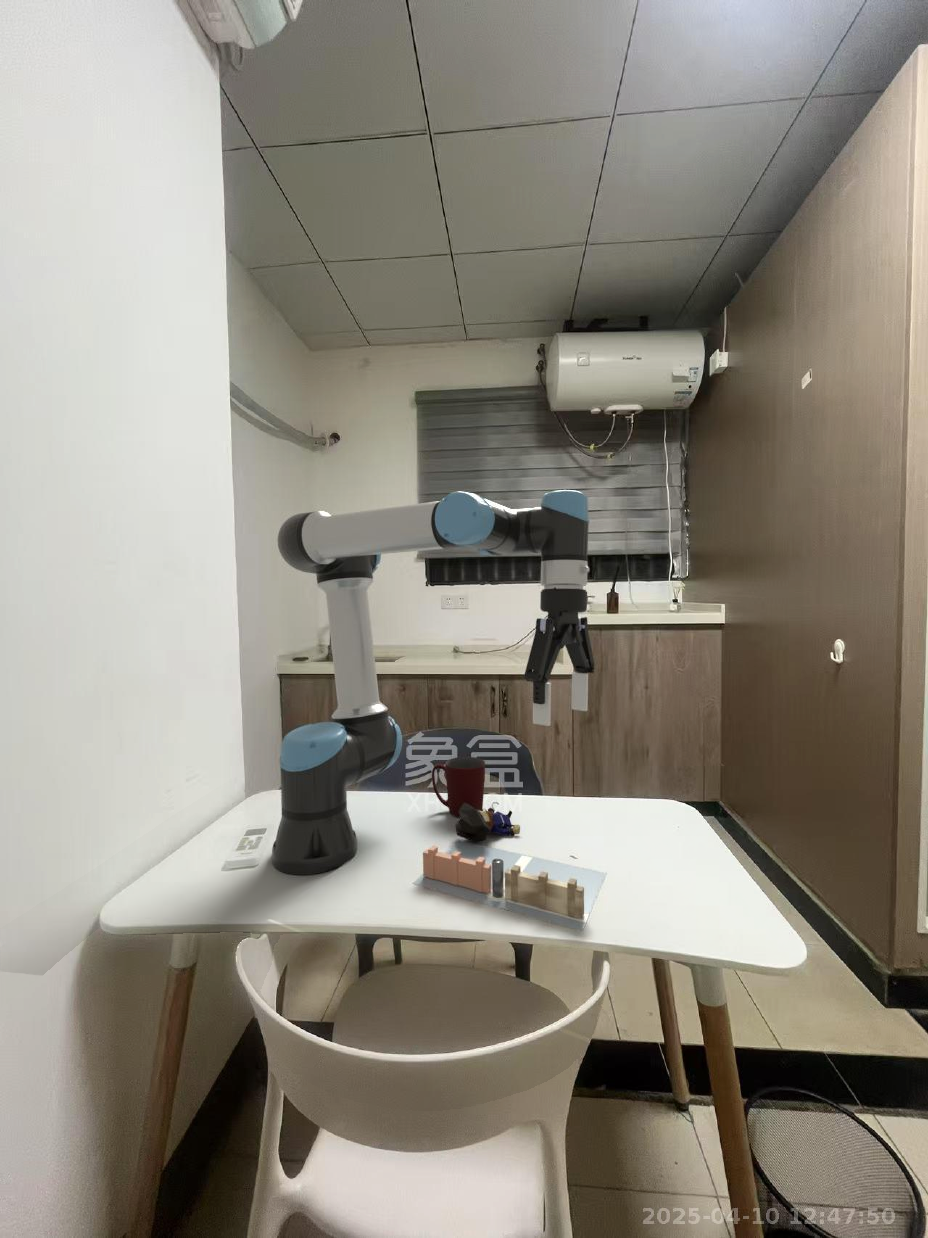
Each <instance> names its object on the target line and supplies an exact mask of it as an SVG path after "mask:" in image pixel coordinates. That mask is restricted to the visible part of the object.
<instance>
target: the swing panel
mask: <svg viewBox="0 0 928 1238" xmlns="http://www.w3.org/2000/svg"><path fill="white" fill-rule="evenodd" d="M438 848H439V846H436V845H431V846H430V847H429V848H428V849H425V850H424V851H423V852H422V868H423V869H422V872H423V873H422V874H423V876H425V877H428V878H431V879H437V880H440V881H444V882H448V883H451V884H453V885H459V886H463V887H466V888H470V889H474V890H476V891H479V892H485V893H489V892H490V891H491V865H490V864H486V863H485V858H483V857H479V858H478V859H477V860H476V861H473V860H469V859H465V858H461V852H458V851H455V852H454V853H453V854H452V855H448V854H445V852H444V853H443V852H439V849H438Z"/></svg>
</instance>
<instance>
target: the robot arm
mask: <svg viewBox="0 0 928 1238" xmlns="http://www.w3.org/2000/svg"><path fill="white" fill-rule="evenodd" d="M589 523H590V519H589V501H588V497H587V495H586V494H585V493H583V492H581V491H578V490H570V489H568V490H567V489H563V490H561V489H560V490H553V491H551V492H546V493H544V494H543V496H542V497H541V503H540V506H536V507H533V508H532V507H531V508H519V509H517V508H515V509H511V508H509V507H506V506H503V505H501V504H499V503H496V502H493V501H491V500H489V499H486V498H484V497H482V496H481V495H479V494H476V493H473V492H466V491H454V492H451V493H449V494H448V495H445V497H444V498H442V499H441V500H439V501H430V502H423V503H414V504H407V505H400V506H392V507H385V508H384V507H383V508H378V509H376V508H375V509H371V510H362V511H353V512H346V513H339V514H329V513H328V512H325V511H323V510H320V511H319V510H318V511H316V510H315V511H311V512H302V513H297V514H294V515H292V516H290V517H289V518H287V519H286V520H285V521H284V522H283V523H282V525H280V528H279V530H278V534H277V548H278V551H279V553H280V555H281V557H282V559H283V560H284V561H285V562H286V563H287V565H289V566H290V567H291V568H293V569H295V570H296V571H300V572H302V573H307V574H308V573H309V574H315V575H316V582H317V583H316V585H317V587H318V588H319V589H320V590H321V591H323V592H324V593H325V598H326V607H327V615H328V625H329V627H328V628H329V635H330V644H331V654H332V663H333V670H334V672H333V673H334V681H335V682H334V683H335V689H336V699H337V701H336V702H337V709H335V711H333V713H332V715H331V721H322V722H321V721H320V722H317V723H314V724H313V723H309V724H306V725H303V726H299V727H297V728H295V729H293V730H291V731H290V732H288V733H286V734H285V736H284V738H282V741H281V743H280V757H279V767H280V790H281V791H280V793H281V794H280V796H281V797H280V799H281V804H280V805H281V818H280V822H279V825H278V828H277V833H276V836H275V837H276V838H275V841H274V842H273V845H272V848H271V862H272V865H273V867H274V868H275V869H276V870H278V871H280V872H283V873H285V874H290V875H300V876H301V875H302V876H303V875H313V874H314V875H315V874H319V873H324V872H329V871H331V870H335V869H336V868H337V869H338V868H339V867H341V866H344V865H345V864H347V863H348V862H350V861H351V860H352V859H353V858H354V856H355V855H356V854H357V853H358V852H357V851H358V839H357V833H356V831H355V830H354V829H353V825H352V821H351V818H350V815H349V811H348V806H347V804H348V800H347V799H348V798H347V797H348V794H347V792H348V791H347V788H348V787H349V786H352V785H355V784H357V783H358V782H362V781H363V780H365V779H368V778H370V777H372V776H377V775H380V774H381V773H383V772H384V771H385V770H387V769H388V768H390V767H391V766H393V764H395V763H396V761H397V760H398V758H399V757H400V753H401V751H402V746H403V736H402V731H401V728H400V726H399V725H398V724H396V721H395V719H394V718H392V717H391V716H390V715H389V708H388V707H387V706H386V705H385V704H384V703H382V702H381V701H380V695H379V693H380V692H379V685H378V684H379V683H378V675H377V667H376V658H375V650H374V642H373V641H374V640H373V633H372V632H373V631H372V623H371V622H372V621H371V612H370V603H369V596H368V589H369V587H370V586H371V585H372V584H373V583H374V576H373V575H374V573H375V572H376V571H377V569H378V565H380V563H381V558H382V555H386V554H396V553H399V554H400V553H409V552H419V551H420V552H422V551H434V550H442V549H444V550H445V549H446V550H449V549H450V550H451V549H464V548H475V549H476V550H477V551H478V552H479V554H481V555H485V556H486V555H487V556H489V555H490V556H498V557H499V556H502V555H515V554H518V555H519V554H529V553H531V554H532V553H533V554H539V553H540V554H541V555H540V562H541V563H540V585H541V586H542V587H543V589H541V591H540V606H539V607H540V610H541V612H544V613H545V612H546V613H547V617H537V618H536V620H535V633H534V635H533V640H532V644H531V649H530V652H529V655H528V660H527V663H526V667H525V671H524V679H525V680H526V682H532V724H535V725H541V726H545V727H549V726H551V724H552V723H551V721H552V720H551V719H552V718H551V717H552V715H551V714H552V708H551V707H552V682H548V681H549V679H550V676H551V674H552V673H553V669H554V666H555V663H556V661H557V658H558V656H559V654H560V651H561V650H562V649H564V647H565V648H566V651H567V653H568V657H569V659H570V661H571V664H572V667H573V669H574V672H571V710H575V711H581V712H587V711H588V709H589V705H588V703H589V696H588V695H589V674H594V672H595V660H594V655H593V650H592V649H593V648H592V644H591V639H590V635H589V634H590V633H589V629H588V627H589V626H588V617H587V616H579V613H585V612H586V611H587V610H588V591H587V589H584V587H586V586H587V585H588V573H589V572H590V571H591V570H590V569H591V568H590V566H588V559H589V558H588V553H589V552H588V551H589V547H588V546H589V528H590V527H589Z"/></svg>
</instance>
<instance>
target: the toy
mask: <svg viewBox="0 0 928 1238" xmlns="http://www.w3.org/2000/svg"><path fill="white" fill-rule="evenodd" d="M494 804H497V805H500V803H499V802H497V801H495V802H492V804H491V807H489V808H488V809H487V810H486V809H485V808H483V809H474V808H473V807H471V806H470V805H468V804H466V803H463V805H462V806H461V808H460V809H459V811H458V813H459V815H460V818H459V819H458V821H456V823H455V831H456V832H455V833H456V836H458V837H460V838H462V839H465V840H467V841H468V842H470V843H475V844H479V843H481V842H485V841H486V839H487V838H488V836H489V835H490V833H491V834H492V833H497V834H500V835H505V836H506V835H507V836H511V837H515V836H516V835H520V832H521V825H520V824H512V822H511V821H512V820H511V818H512V814H513V811H512V810H509V811H508V813H507V814H504V813H503V812H500V811H496V812H495V810H496V809H495V808H494Z"/></svg>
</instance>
